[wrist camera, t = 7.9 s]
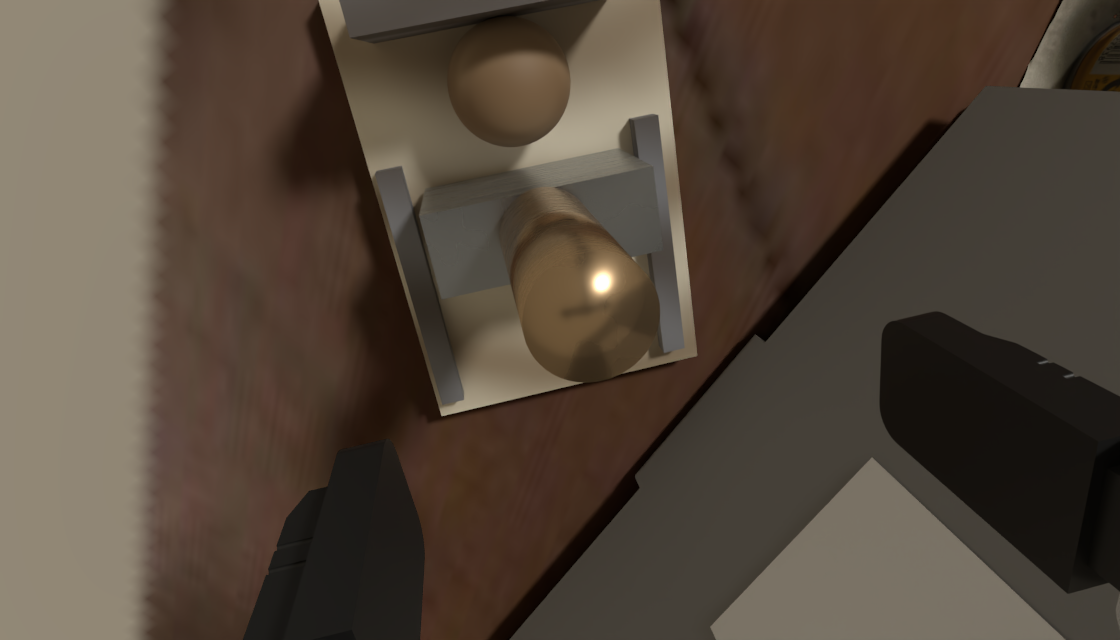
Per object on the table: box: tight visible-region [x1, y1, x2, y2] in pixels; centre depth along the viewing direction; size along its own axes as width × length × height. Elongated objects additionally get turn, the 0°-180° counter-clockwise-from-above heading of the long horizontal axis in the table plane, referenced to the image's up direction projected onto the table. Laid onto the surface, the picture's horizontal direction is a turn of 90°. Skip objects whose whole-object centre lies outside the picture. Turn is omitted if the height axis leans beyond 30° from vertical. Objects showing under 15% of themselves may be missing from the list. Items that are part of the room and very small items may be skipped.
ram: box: [419, 148, 663, 383], centre depth 21 cm, size 3×8×13 cm, turn 100°
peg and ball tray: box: [319, 0, 697, 416], centre depth 25 cm, size 18×12×7 cm
